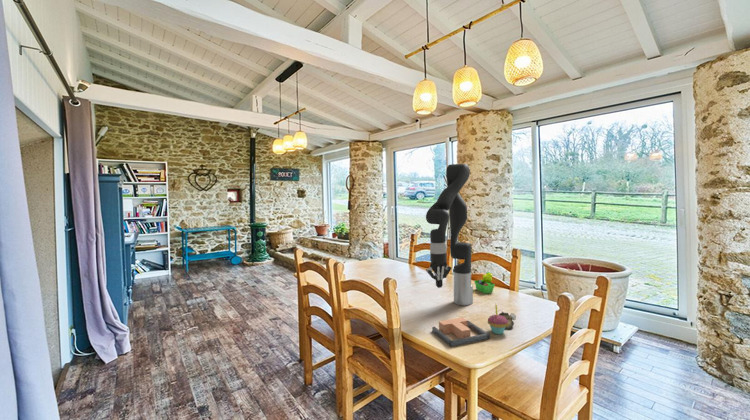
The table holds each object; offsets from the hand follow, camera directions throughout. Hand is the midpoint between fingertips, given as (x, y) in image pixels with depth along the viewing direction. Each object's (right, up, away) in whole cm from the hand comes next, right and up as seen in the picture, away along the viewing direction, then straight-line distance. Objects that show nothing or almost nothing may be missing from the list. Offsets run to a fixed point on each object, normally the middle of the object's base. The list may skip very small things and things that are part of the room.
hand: (439, 287), depth 153 cm
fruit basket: (+36, -13, +42) cm, 57 cm away
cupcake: (+23, -16, -13) cm, 31 cm away
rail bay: (+6, -17, -15) cm, 23 cm away
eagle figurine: (+29, -16, -7) cm, 34 cm away
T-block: (+5, -17, -14) cm, 22 cm away
